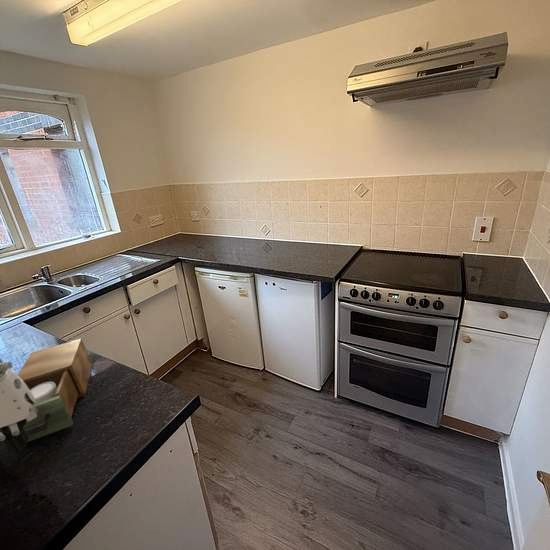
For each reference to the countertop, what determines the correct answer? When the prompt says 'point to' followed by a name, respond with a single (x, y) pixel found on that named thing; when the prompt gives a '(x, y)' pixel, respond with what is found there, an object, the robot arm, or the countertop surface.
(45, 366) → the cabinet
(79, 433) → the countertop surface
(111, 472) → the countertop surface
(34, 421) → the drawer
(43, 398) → the white short cylinder
